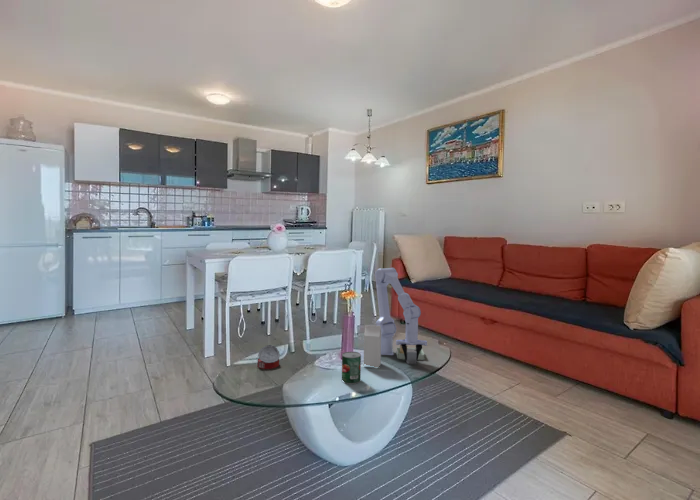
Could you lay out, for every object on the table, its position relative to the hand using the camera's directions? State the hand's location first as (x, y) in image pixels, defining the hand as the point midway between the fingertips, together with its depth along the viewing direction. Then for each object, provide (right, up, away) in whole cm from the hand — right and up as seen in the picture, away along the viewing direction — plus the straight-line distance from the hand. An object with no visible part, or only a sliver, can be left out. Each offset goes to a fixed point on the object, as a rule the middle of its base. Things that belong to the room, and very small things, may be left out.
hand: (411, 359), depth 175 cm
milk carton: (-19, -2, -4) cm, 19 cm away
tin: (0, -2, 0) cm, 2 cm away
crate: (+1, -1, +10) cm, 10 cm away
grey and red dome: (-67, -1, -5) cm, 67 cm away
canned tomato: (-29, -2, -22) cm, 36 cm away
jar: (-2, -1, +10) cm, 10 cm away
